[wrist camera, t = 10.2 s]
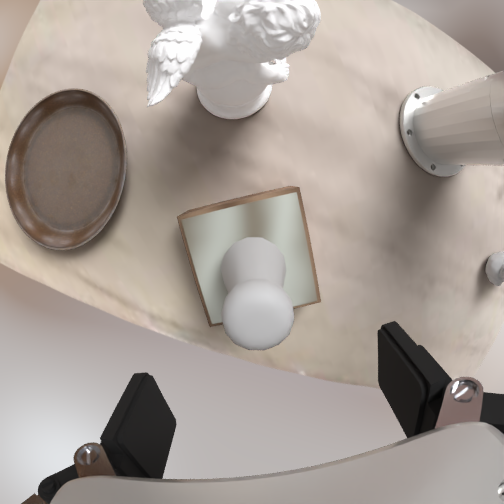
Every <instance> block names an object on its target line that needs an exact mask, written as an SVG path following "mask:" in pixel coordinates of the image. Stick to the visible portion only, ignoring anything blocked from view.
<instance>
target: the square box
mask: <svg viewBox="0 0 504 504" xmlns="http://www.w3.org/2000/svg"><path fill="white" fill-rule="evenodd" d="M177 219H178V222H179V226H180V230H181V233H182V237H183V241H184V244H185V248H186V251H187V255H188V258H189V261H190V265H191V268H192V272H193V275H194V278H195V282H196V285H197V288H198V291H199V295H200V298H201V301H202V304H203V307H204V310H205V313H206V316H207V320H208V323H209V326H210V327H212V326H217V325H222V324H223V322H222V318H221V312H222V309H223V305H224V301H225V298H226V296H227V295H228V291H227V289H226V286H225V284H224V281H223V277H222V273H221V269H220V267H221V264H222V260H223V256H224V254H225V253H226V251H227V250H228V249H229V248H230V247H231V245H232V244H233V243H235V242H237V241H240V240H242V239H244V238H247V237H262V238H264V239H266V240H268V241H269V242H271V243H273V244H275V245H276V246H277V247H278V249H279V250H280V251H281V253H282V254H283V255H284V259H285V265H286V275H285V280H284V286H283V289H284V291H285V292H286V293H287V294H288V296H289V297H290V299H291V301H292V305H293V309H295V308H299V307H303V306H307V305H311V304H315V303H319V302H321V299H320V293H319V287H318V281H317V275H316V269H315V264H314V258H313V253H312V247H311V242H310V237H309V232H308V227H307V222H306V217H305V212H304V207H303V202H302V198H301V193H300V188H299V187H294V186H288V187H283V188H279V189H274V190H270V191H265V192H261V193H257V194H252V195H248V196H244V197H240V198H235V199H231V200H227V201H223V202H219V203H215V204H211V205H207V206H204V207H200V208H196V209H192V210H189V211H187V212H185V213H183V214H181V215H179V216H177Z"/></svg>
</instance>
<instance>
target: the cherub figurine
mask: <svg viewBox="0 0 504 504" xmlns="http://www.w3.org/2000/svg"><path fill="white" fill-rule="evenodd" d="M143 5H144V7H145V8H146V11H147V13H148V14H149V16H150V17H151V19H152V20H153V21H155V22H157V23H158V25H160V26H162V27H163V30H162V31H161V32H160V33H159V34H158V35H157V37H156V38H155V39H154V40H153V41H152V43H151V48H150V49H149V51H148V58H149V60H148V63H147V69H146V73H148V77H147V83H148V86H147V91H148V92H149V93H148V96H147V100H149V102H148V106H147V107H149V106H153V105H156V104H158V103H159V102H161V101H162V100H163V99H164V98H165V97H166V96H168V95H169V94H170V92H171V90H172V89H173V88H174V87H177V85H178V83H179V82H180V81H181V79H182V80H184V81H186V82H188V83H190V84H192V85H195V86H196V87H197V95H198V98H199V100H200V102H201V104H202V105H203V106H204V107H205V108H206V109H207V110H208V111H209V112H210V113H212V115H216V116H218V117H221V118H225V119H240V118H244V117H247V116H250V115H252V114H254V113H255V112H257V111H258V110H259V109H260V108H262V107H263V106H264V104H265V103H266V102H267V100H268V99H269V97H270V94H271V91H272V84H276V83H281V82H284V81H286V80H287V78H288V77H289V69H288V68H289V67H290V66H289V64H286V57H288V56H289V55H291V54H293V53H295V52H297V51H301V50H303V49H306V48H307V47H308V46H309V44H310V40H312V38H313V37H314V35H315V31H316V27H317V26H318V25H319V23H320V18H321V13H320V9H319V7H318V5H317V3H316V2H315V0H143ZM272 60H274V61H275V63H276V64H275V63H273V62H271V61H272Z"/></svg>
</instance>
